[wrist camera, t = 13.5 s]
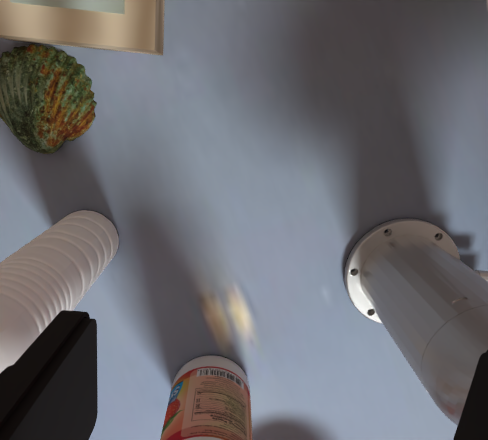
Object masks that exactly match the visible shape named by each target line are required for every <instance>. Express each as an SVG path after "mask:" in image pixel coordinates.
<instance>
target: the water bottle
mask: <svg viewBox="0 0 488 440" xmlns="http://www.w3.org/2000/svg"><path fill="white" fill-rule="evenodd" d="M118 246H119V237H118V235H117V231H116V228H115V227H114V225H113V224H112V222H111V221H110V220H108V219H106V217H105V216H103V215H102V214H100V213H97V212H94V211H87V210H81V211H76V212H73V213H71V214H69V215H67V216H66V217H64V218H63V219H62V220H60V221H59V222H58V223H56V224H55V225H53V226H52V227H51V228H49V229H48V230H46V231H45V232H43V233H42V234H41V235H39V236H38V237H36V238H35V239H33V240H32V241H31V242H30V243H28V244H26V245H25V246H23V247H22V248H20V249H19V250H18V251H17V252H15V253H13V254H12V255H10V256H9V257H7V258H6V259H5V260H4V261H2V262H1V263H0V373H1V372H2V371H3V370H4V369H5V368H7V367H8V366H11V365H14V364H15V362H16V361H17V360H18V359H19V358H20V357H21V356H22V354H23V353H24V352H25V351H26V350H27V349H28V348H29V346H30V345H31V344H32V343H33V342H34V341H35V340H36V339H37V337H38V336H39V335H40V334H41V333H42V332H43V331H44V329H45V328H46V327H47V326H48V325H49V324H50V323H51V321H52V320H53V319H54V318H55V317H56V316H57V315H58V314H59V312H61V311H62V310H68V311H73V310H74V308H75V307H76V305H77V304H78V303H79V301H80V300H81V299H82V298H83V297H84V295H85V294H86V292H87V291H88V290H89V289H90V287H91V286H92V284H93V283H94V282H95V281H96V280H97V278H98V277H99V275H100V274H101V273H102V272H103V270H104V269H105V268H106V266H107V265H108V264H109V263H110V261H111V260H112V259H113V257H114V256H115V254H116V252H117V250H118Z"/></svg>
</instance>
